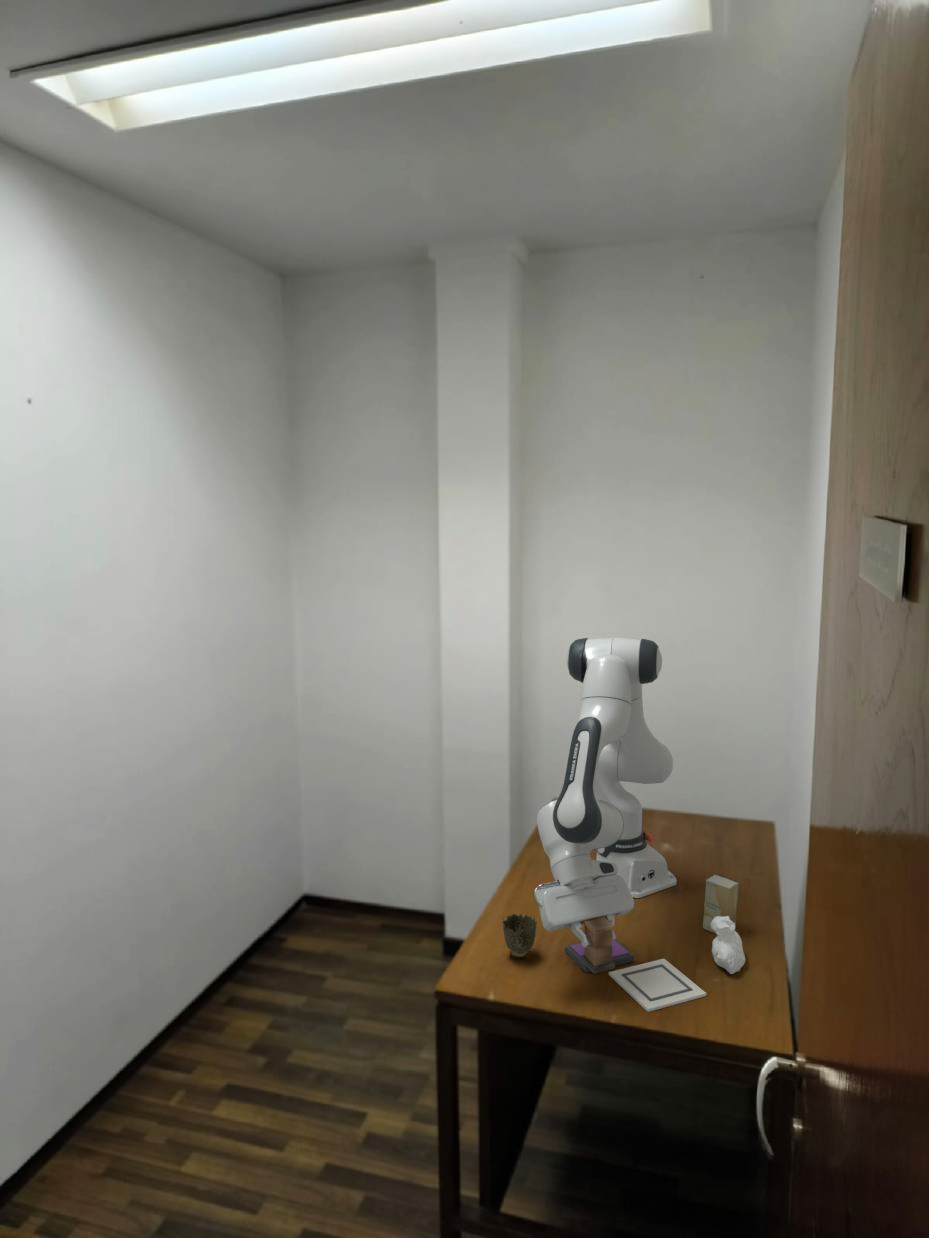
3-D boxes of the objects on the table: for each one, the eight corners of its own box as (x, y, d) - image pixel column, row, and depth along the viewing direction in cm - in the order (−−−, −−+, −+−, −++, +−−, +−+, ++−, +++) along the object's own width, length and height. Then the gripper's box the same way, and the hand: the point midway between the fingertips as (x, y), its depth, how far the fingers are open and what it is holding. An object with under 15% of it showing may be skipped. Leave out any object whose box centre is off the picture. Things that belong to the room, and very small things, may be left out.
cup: (515, 943, 183) (516, 909, 182) (542, 954, 179) (543, 919, 178) (495, 956, 178) (496, 922, 177) (523, 968, 173) (523, 933, 172)
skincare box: (702, 928, 190) (704, 879, 188) (711, 922, 193) (713, 873, 191) (727, 938, 185) (729, 888, 184) (736, 932, 188) (739, 882, 187)
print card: (663, 960, 176) (664, 957, 176) (706, 995, 163) (706, 992, 163) (608, 974, 171) (608, 971, 171) (648, 1011, 158) (648, 1008, 158)
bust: (731, 959, 181) (701, 914, 183) (760, 946, 177) (729, 901, 179) (720, 987, 170) (689, 939, 172) (751, 973, 167) (719, 924, 169)
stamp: (601, 955, 167) (602, 914, 165) (614, 968, 162) (615, 925, 161) (581, 960, 165) (582, 919, 164) (593, 973, 160) (594, 930, 159)
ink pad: (611, 941, 184) (611, 934, 184) (633, 960, 176) (634, 953, 176) (564, 951, 180) (565, 944, 179) (586, 972, 171) (586, 965, 171)
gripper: (536, 880, 164) (559, 949, 156) (622, 862, 171) (649, 927, 164) (526, 891, 168) (548, 959, 161) (611, 873, 176) (635, 937, 168)
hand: (600, 943), depth 162 cm, fingers closed on stamp, 4 cm apart
